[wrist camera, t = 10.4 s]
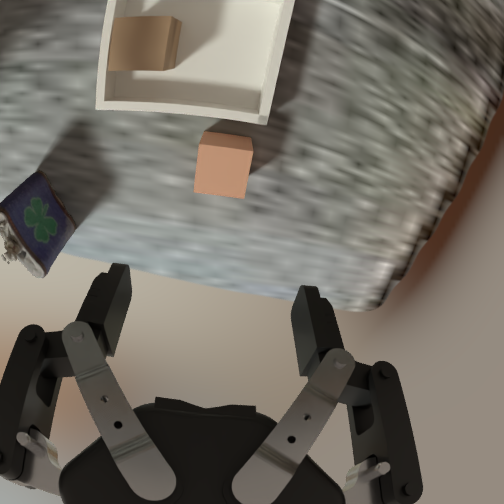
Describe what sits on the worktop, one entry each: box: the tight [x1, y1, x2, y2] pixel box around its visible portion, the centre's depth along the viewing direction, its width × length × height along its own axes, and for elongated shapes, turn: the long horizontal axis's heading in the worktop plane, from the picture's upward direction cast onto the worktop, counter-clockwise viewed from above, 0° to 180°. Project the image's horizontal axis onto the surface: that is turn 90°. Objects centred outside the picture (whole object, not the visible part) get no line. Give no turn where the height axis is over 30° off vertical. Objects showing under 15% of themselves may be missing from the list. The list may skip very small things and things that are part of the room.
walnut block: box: [108, 16, 182, 71], centre depth 19 cm, size 4×4×4 cm
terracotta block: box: [194, 131, 253, 199], centre depth 27 cm, size 4×4×4 cm
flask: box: [0, 170, 76, 278], centre depth 26 cm, size 9×3×11 cm, turn 19°
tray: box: [96, 0, 295, 125], centre depth 20 cm, size 15×12×4 cm
